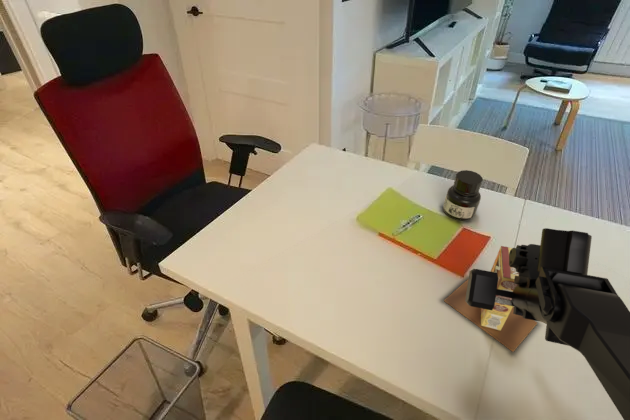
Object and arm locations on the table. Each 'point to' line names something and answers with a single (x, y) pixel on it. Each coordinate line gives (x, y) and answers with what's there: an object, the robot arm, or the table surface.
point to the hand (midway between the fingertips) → (511, 293)
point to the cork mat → (508, 336)
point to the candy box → (505, 282)
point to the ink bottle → (463, 196)
